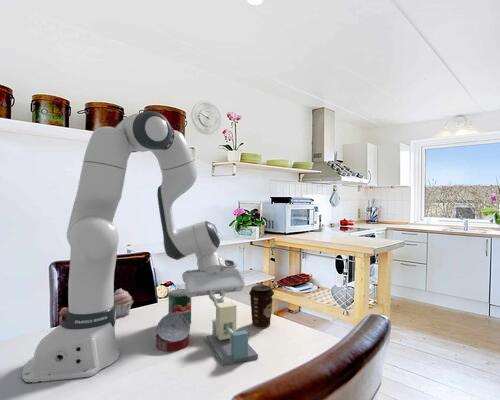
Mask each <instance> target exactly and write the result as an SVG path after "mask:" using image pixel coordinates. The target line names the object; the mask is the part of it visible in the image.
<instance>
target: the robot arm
mask: <svg viewBox="0 0 500 400" xmlns="http://www.w3.org/2000/svg"><path fill="white" fill-rule="evenodd" d="M138 152H140V153H145V152H151V153H152V154H153V155H154V156H155V157H156V160H157V162H158V165H159V169H160V172H161V184H160V185H159V186H158V187H157V190H156V191H157V192H156V196H157V204H158V209H159V210H158V211H159V217H160V222H161V229H162V236H163V237H162V238H163V249H164V252H165V254H166V256H167V257H169V258H171V259H173V260H176V261H178V260H181V259H183V258H186V257H187V256H191V255H195V257H196V264H197V269H191V270H190V269H188V270H187V269H186V270H185V271H184V272H183V273H182V275H181V277H182V281H183V282H184V289H185V295H186V296H187V297H191V298H196V297H204V296H208V297H209V299H210V300H211V301H212V302H213V306H214V307H216V304H217V303H224V302H225V299H224V298H225V295H226V294H228V293H237V292H242V291H243V289H244V287H245V285H246V283H245V279H244V276H243V274H242V271H240V269H239V268H238V267H237V266H238V264H237V261H234V260H230V259H226V258H222V256H221V254H220V248H219V247H220V245H221V240H220V238H219V234H218V230H217V227H216V225H215V224H213V222H210V221H207V220H205V221H200V222H196V223H194V224H191V225H187V226H185V227H181V228H176V227H175V226H176V225H175V221H174V220H175V219H174V215H173V204H174V203H175V201H176V200H178V199H179V198H180V197H181V196H183V195H184V194H185V193H186V192H188V191H189V190H190V189H191V188H192V187H193V186H194V184H195V183H196V181H197V177H198V171H197V166H196V162H195V160H194V157H193V153H192V150H191V149H190V146H189V144H188V141H187V140H186V138H185V136H184V134H182V132H180V131H178V130H177V129H176V130H175V129H174V128H173V127H172V126H171V124H170V122H169V121H168V119H167V118H166V117H165V116H164V115H163V114H162V113H160V112H157V111H151V110H145V111H142V112H139V113H134V114H131V115H129V116H127V117H125V118H122V119H121V120H120V121H118V122H117V124H115V126H114V127H113V126H106V125H105V126H99V127H97V128H95V130H94V131H93V132H92V134H91V136H90V138H89V141H88V144H87V146H86V150H85V153H84V156H83V160H82V166H81V172H80V176H79V179H78V186H77V191H76V195H75V198H74V202H73V205H72V209H71V213H70V218H69V222H68V225H67V226H68V227H67V230H66V239H67V242H68V244H69V247H70V254H69V255H70V256H69V258H70V259H69V271H68V290H67V291H68V292H67V294H68V295H67V296H68V298H67V299H68V301H67V302H68V307H66V306H65V307H62V308H61V309H60V311H59V313H58V314H59V318H58V322H59V325H58V326H57V327H55V328H54V329H52V330H51V331H50V332H49V333H47V334H46V335H45V336H44V337H43V338H42V339H41V340H40V341H39V343H38V344H37V346H36V348H35V350H34V353H33V357H31V358H30V359H29V360H27V362H26V364H25V365H24V367H23V369H22V373H21V380H22V379H23V380H24V381H25V382H32V383H39V382H38V381H41V382H50V380H51V381H61V380H68V379H69V380H70V379H77V378H87V377H88V378H89V377H92V376H95V375H96V374H97V373H98V372H99V371H100V370H103V369H104V368H106V367H108V366H110V365H113V363H115V362H116V361H117V360H118V358H119V357H120V354H121V352H120V349H119V347H118V346H119V345H118V342H117V337H116V330H115V325H116V322H117V321H116V319H117V317H116V308H115V304H114V293H115V291H114V290H115V289H114V288H115V286H114V283H115V270H116V264H117V263H116V262H117V257H118V247H119V246H118V245H119V241H120V239H119V232H118V229H117V227H116V226H115V224H114V223H113V221H114V219H115V214H116V212H117V209H118V207H119V203H120V201H121V199H122V196H123V195H122V194H123V189H124V185H125V178H126V173H127V167H128V160H129V158H130V155H131V154H132V153H138ZM215 295H219V297H220V298H217V297H216V296H215ZM23 380H22V381H23ZM24 381H23V382H24ZM25 382H24V383H25Z"/></svg>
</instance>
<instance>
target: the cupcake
mask: <svg viewBox="0 0 500 400" xmlns="http://www.w3.org/2000/svg"><path fill="white" fill-rule="evenodd" d="M133 303H134V300H133V297H132V296H131V295H130V294H129V292H128V291H126V290H124V289H122V287H121V288H119V289H116V290H115V291H114V304H115V308H116V318H123V317H122V316H124V317H126V316H129V314H130V312H131V307H132V305H133Z"/></svg>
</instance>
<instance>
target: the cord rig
mask: <svg viewBox="0 0 500 400" xmlns="http://www.w3.org/2000/svg"><path fill="white" fill-rule="evenodd" d="M211 326H212V327H211V328H212V332H211V334H207V335H206V336H205V340H206V342H207V343H208V345H209V347H211V350H212V352H213V353H214V354H215V356H216V357H217V359H218V360H219V362H220V363H221V365H222V366H223V367H226V366H229V365H230V366H231V365H233V364H240V363H244V362H249V361H254V360H259V354H258V353H257V352H256V351H255V349H253V347H252V346H251V345H250V344H249V333H248V331H246V330H245V329H244V330H239V331H237V330H236V332H233V331H232V330H231V328H230V327H229V326H228V323H223V330H224V329H226V330H227V331H228V333H229V334H230V335H231V337H230V338H229V339H223V340H219V338H218V337H217V336H216V318H215V319H212V325H211Z"/></svg>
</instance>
